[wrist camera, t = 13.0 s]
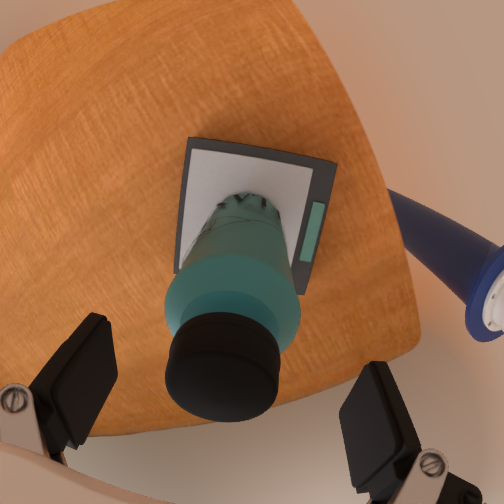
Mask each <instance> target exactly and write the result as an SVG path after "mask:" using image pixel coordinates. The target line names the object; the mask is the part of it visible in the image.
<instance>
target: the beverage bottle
mask: <svg viewBox="0 0 504 504" xmlns="http://www.w3.org/2000/svg"><path fill="white" fill-rule="evenodd" d="M244 192H245V193H244ZM247 192H248V191H243V193H242V192H241V193H239V194H235V195H232V196H229V197H228V196H227V198H225V199H224V200H223V201H222V202H221V203H218V204H217V205H216V206H217V207H216V206H215V207H216V209H215V210H214V211H213V210H212V211H213V212H212V213H210V214H212V215H211V216H210V217H209V216H208V218H210V219H209V220H208V222H207V221H206V223H205V224H204V226H203V228H204V229H203V228H202V227H201V228H202V230H201V233H200V232H199V233H200V235H199V236H196V237H198V238H196V242H195V244H194V246H193V247H192V248H191V251H190V249H189V248H188V249H189V250H187V251H190V252H189V254H188V255H187V254H186V255H187V258H183V259H184V260H185V261H182V262H184V263H182V265H181V266H182V267H181V270H180V272H179V273H178V274H177V275H176V276H175V278H174V279H173V281H172V282H171V284H170V286H169V288H168V291H167V294H166V298H165V317H166V321H167V325H168V327H169V330H170V332H171V334H172V335H173V337H174V338H173V341H172V343H171V347H170V351H169V359H168V363H167V367H166V371H165V383H166V388H167V391H168V393H169V395H170V396H171V398H172V399H173V400H174V401H175V402H176V403H177V404H178V405H179V406H180V407H181V408H183V409H184V410H186V411H187V412H189V413H191V414H193V415H195V416H198V417H200V418H204V419H207V420H211V421H217V422H240V421H245V420H249V419H252V418H255V417H257V416H259V415H261V414H263V413H264V412H265V411H267V410H268V409H269V408H270V407H271V406H272V404H273V403H274V401H275V399H276V396H277V393H278V384H279V371H280V364H281V361H280V354H281V353H282V352H283V351H284V350H285V349H286V348H287V347H288V346H289V345H290V343H291V342H292V340H293V339H294V337H295V335H296V333H297V331H298V328H299V324H300V318H301V310H300V303H299V299H298V296H297V293H296V291H295V287H294V282H293V278H292V273H291V268H290V263H289V259H288V250H287V248H288V244H287V245H286V242H285V240H287V239H286V238H285V237H284V234H285V233H283V229H284V226H283V228H282V224H281V218H280V214H279V210H276V208H277V207H276V208H275V207H274V205H273V204H272V203H271V202H270V201H268V200H270V199H268V200H267V199H266V198H267V197H266V198H264V197H262V196H261V195H259V194H258V195H257V194H256V193H255V192H254V193H255V194H254V193H249V192H248V193H247ZM236 193H237V192H236ZM284 231H285V229H284ZM197 235H198V234H197ZM193 241H195V240H193ZM193 243H194V242H192V244H193ZM192 244H191V245H192ZM191 245H190V246H191ZM289 253H290V248H289ZM184 257H185V255H184ZM178 268H179V267H178Z"/></svg>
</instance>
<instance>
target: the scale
mask: <svg viewBox="0 0 504 504" xmlns="http://www.w3.org/2000/svg"><path fill="white" fill-rule="evenodd" d="M336 168H337V163H334V162H331V161H327V160H323V159H318V158H314V157H309V156H305V155H300V154H295V153H291V152H286V151H280V150H275V149H270V148H264V147H259V146H253V145H247V144H241V143H234V142H227V141H220V140H213V139H205V138H197V137H188V140H187V147H186V154H185V161H184V169H183V176H182V184H181V193H180V202H179V212H178V222H177V233H176V245H175V258H174V274H178V273H179V272H180V270H181V267H182V266H181V265H182V263H184V262H182V261H185V260H184V259H183V258H187V255H188V254H189V252H190V251H191V248H192V247H193V246H194V244H195V242H196V238H198V237H196V236H199V235H200V233H201V230H202V228H203V226H204V224H205V223H206V221H207V222H208V220H209V219H210V218H208V216H209V217H210V216H211V215H212V214H210V213H212V212H213V211H214V210H215V209H216V207H217V206H216V205H217V204H218V203H221V202H222V201H223V200H224V199H225V198H227V196H228V197H229V196H232V195H235V194H239V193H241V192H242V193H243V191H248V192H249V193H254V192H255V193H256V194H257V195H258V194H259V195H261V196H262V197H264V198H266V197H267V198H266V199H267V200H268V199H270V200H268V201H270V202H271V203H272V204H273V205H274V207H275V208H276V207H277V208H276V210H279V214H280V218H281V224H282V228H283V226H284V229H285V231H284V229H283V233H285V234H284V237H285V238H286V239H287V240H285V242H286V245H287V244H288V248H287V250H288V259H289V263H290V268H291V273H292V278H293V282H294V287H295V291H296V293H297V294H298V295H305V291H306V288H307V284H308V281H309V277H310V274H311V270H312V266H313V263H314V259H315V255H316V251H317V248H318V244H319V240H320V236H321V232H322V228H323V224H324V220H325V216H326V212H327V208H328V204H329V199H330V195H331V191H332V186H333V182H334V178H335V173H336ZM236 192H237V193H236ZM248 192H247V193H248ZM244 193H245V192H244ZM255 193H254V194H255ZM215 206H216V207H215ZM212 210H213V211H212ZM201 227H202V228H201ZM203 229H204V228H203ZM199 232H200V233H199ZM197 234H198V235H197ZM193 240H195V241H193ZM192 242H194V243H193V244H192ZM191 244H192V245H191ZM190 245H191V246H190ZM188 248H189V249H190V251H187V250H189V249H188ZM289 248H290V253H289ZM186 254H187V255H186ZM184 255H185V257H184ZM178 267H179V268H178Z"/></svg>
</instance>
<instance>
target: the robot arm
mask: <svg viewBox="0 0 504 504" xmlns="http://www.w3.org/2000/svg"><path fill="white" fill-rule="evenodd" d="M482 319H483V323H484V325H485V326H486V327H487V328H488V329H489V330H491V331H499V330H502V331H503V332H504V269H503V270H502V272H501V273H500V274H499V275H498V276H497V278H496V279H495V281H494V282H493V284H492V286H491V288H490V290H489V292H488V294H487V296H486V299H485V302H484V306H483V312H482ZM117 376H118V370H117V364H116V358H115V352H114V345H113V338H112V330H111V323H110V321H107V318H106V316H104V315H100V314H97V313H93V312H91V313H90V314H89V315H88V316H87V317H86V318H85V319H84V320H83V322H82V323H81V324H80V325H79V326H78V327H77V329H76V330H75V331H74V332H73V333H72V335H71V336H70V337H69V338H68V339H67V340H66V341H65V342H64V343H63V344H62V345H61V346H60V347H59V349H58V350H57V351H56V352H55V353H54V355H53V356H52V357H51V358H50V360H49V361H48V362H47V364H46V365H45V366H44V367H43V369H42V370H41V371H40V373H39V374H38V375H37V376H36V378H35V379H34V380H33V382H32V383H31V384H30V386H29V387H26V386H25V385H23V384H20V383H11V384H8V385H6V386H4V387H3V388H2V389H1V390H0V504H174V503H169V502H165V501H161V500H157V499H153V498H149V497H147V496H143V495H139V494H136V493H133V492H130V491H127V490H124V489H121V488H118V487H115V486H113V485H110V484H107V483H105V482H102V481H99V480H97V479H94V478H92V477H89V476H87V475H84V474H82V473H80V472H77V471H75V470H73V469H71V468H68V466H67V463H66V460H65V457H64V454H63V451H64V449H65V447H66V446H68V447H71V448H73V449H75V450H77V448H78V446H79V445H83V444H84V443H85V441H86V439H87V437H88V435H89V433H90V430H91V428H92V426H93V424H94V422H95V420H96V418H97V416H98V414H99V413H100V411H101V409H102V407H103V405H104V403H105V401H106V399H107V397H108V395H109V393H110V391H111V389H112V387H113V386H114V384H115V382H116V380H117ZM339 419H340V424H341V429H342V434H343V438H344V444H345V449H346V454H347V460H348V465H349V471H350V477H351V482H352V486H353V487H354V488H356V491H357V493H358V494H359V493H366V492H369V494H370V499H369V501H368V502H367V504H482V494H481V491H480V490H479V489H478V488H477V487H476V486H474V485H473V484H471V483H468V482H467V481H465V480H463V479H461V478H459V477H457V476H455V475H454V474H452V473H450V472H448V468H449V465H448V461H447V459H446V457H445V456H444V455H443V453H441V452H440V451H438V450H435V449H425V450H423V451H422V449H421V444H420V441H419V438H418V436H417V433H416V431H415V428H414V426H413V423H412V420H411V418H410V415H409V413H408V411H407V408H406V406H405V403H404V401H403V399H402V396H401V394H400V392H399V389H398V387H397V385H396V382H395V380H394V378H393V375H392V373H391V371H390V369H389V366H388V364H387V363H386V362H385V361H371V362H369V364H366V365H365V366H364V368H363V370H362V371H361V373H360V375H359V377H358V379H357V381H356V383H355V384H354V386H353V388H352V390H351V392H350V393H349V395H348V397H347V398H346V400H345V402H344V403H343V405H342V407H341V408H340V411H339ZM484 504H486V503H484Z"/></svg>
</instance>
